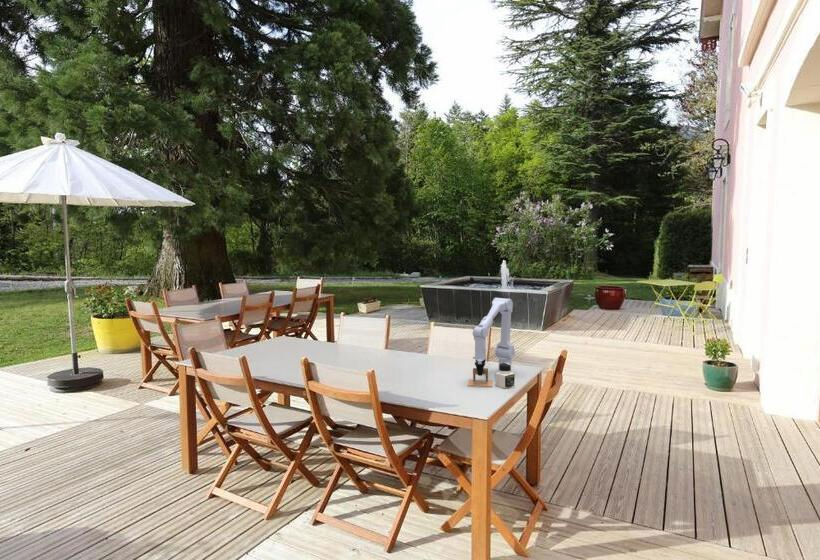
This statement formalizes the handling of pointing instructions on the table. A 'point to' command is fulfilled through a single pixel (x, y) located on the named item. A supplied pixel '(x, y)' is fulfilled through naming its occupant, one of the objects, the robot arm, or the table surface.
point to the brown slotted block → (485, 372)
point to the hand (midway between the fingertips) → (480, 374)
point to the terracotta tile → (480, 383)
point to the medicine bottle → (505, 376)
